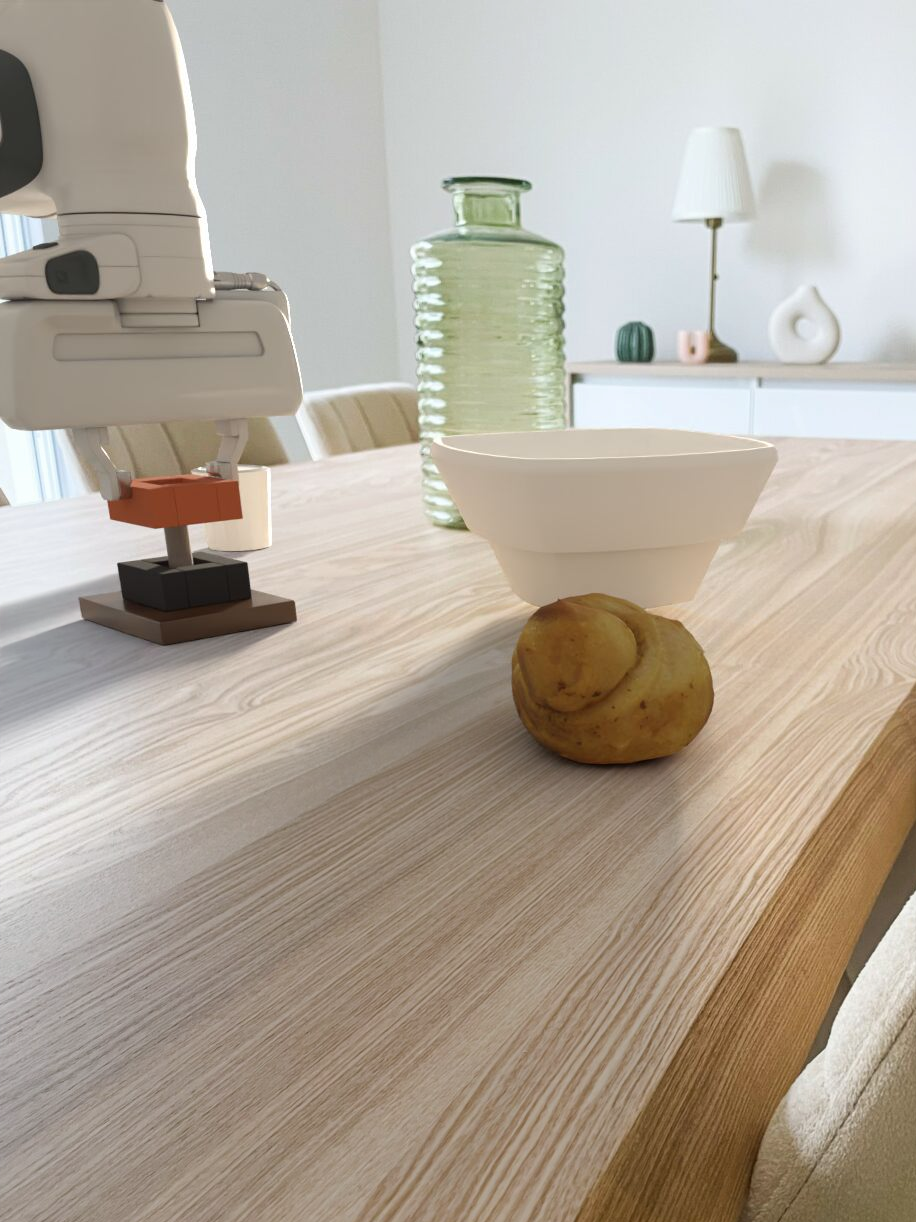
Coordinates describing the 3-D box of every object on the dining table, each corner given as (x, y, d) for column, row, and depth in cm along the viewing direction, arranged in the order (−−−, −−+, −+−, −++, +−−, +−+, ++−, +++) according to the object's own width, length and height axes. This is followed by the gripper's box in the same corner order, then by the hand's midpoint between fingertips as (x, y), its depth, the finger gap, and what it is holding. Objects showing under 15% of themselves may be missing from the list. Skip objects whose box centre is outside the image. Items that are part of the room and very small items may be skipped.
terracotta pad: (109, 519, 88) (103, 481, 87) (196, 510, 93) (191, 473, 92) (154, 529, 84) (148, 489, 83) (243, 518, 89) (238, 480, 88)
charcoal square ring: (122, 598, 91) (116, 562, 90) (206, 586, 95) (201, 551, 94) (166, 612, 87) (160, 574, 86) (252, 598, 91) (247, 562, 90)
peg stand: (81, 618, 92) (60, 497, 89) (210, 597, 98) (195, 484, 95) (163, 645, 84) (143, 514, 81) (297, 621, 91) (284, 499, 88)
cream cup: (219, 554, 116) (208, 473, 113) (189, 545, 121) (179, 467, 118) (290, 546, 120) (282, 468, 117) (259, 537, 125) (250, 462, 122)
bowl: (409, 594, 99) (397, 435, 95) (664, 570, 109) (664, 424, 104) (517, 656, 81) (509, 464, 77) (812, 620, 91) (820, 447, 86)
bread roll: (497, 708, 71) (490, 559, 67) (671, 697, 73) (672, 552, 69) (529, 785, 59) (522, 609, 56) (734, 770, 61) (739, 599, 58)
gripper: (259, 274, 91) (281, 477, 97) (-45, 267, 78) (1, 504, 83) (309, 271, 87) (329, 484, 93) (-3, 264, 74) (43, 513, 79)
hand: (172, 494), depth 88 cm, fingers closed on terracotta pad, 6 cm apart
